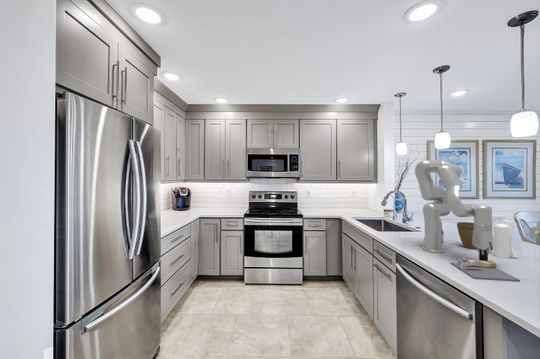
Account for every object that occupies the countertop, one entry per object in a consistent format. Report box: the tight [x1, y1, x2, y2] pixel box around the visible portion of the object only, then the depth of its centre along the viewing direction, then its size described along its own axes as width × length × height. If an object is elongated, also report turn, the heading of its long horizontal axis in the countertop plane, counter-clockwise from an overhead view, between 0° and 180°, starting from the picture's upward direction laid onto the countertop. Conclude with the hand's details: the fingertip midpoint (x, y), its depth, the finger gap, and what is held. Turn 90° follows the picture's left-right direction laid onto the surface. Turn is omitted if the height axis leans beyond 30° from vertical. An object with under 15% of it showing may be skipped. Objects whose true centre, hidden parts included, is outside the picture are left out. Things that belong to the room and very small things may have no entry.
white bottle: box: [492, 214, 519, 259], centre depth 140 cm, size 7×12×25 cm, turn 58°
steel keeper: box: [460, 261, 483, 270], centre depth 121 cm, size 2×9×4 cm, turn 78°
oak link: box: [458, 257, 497, 268], centre depth 125 cm, size 15×4×3 cm, turn 78°
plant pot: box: [456, 221, 478, 250], centre depth 159 cm, size 15×15×16 cm
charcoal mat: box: [450, 261, 521, 283], centre depth 120 cm, size 20×18×1 cm
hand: (483, 261), depth 128 cm, fingers closed
